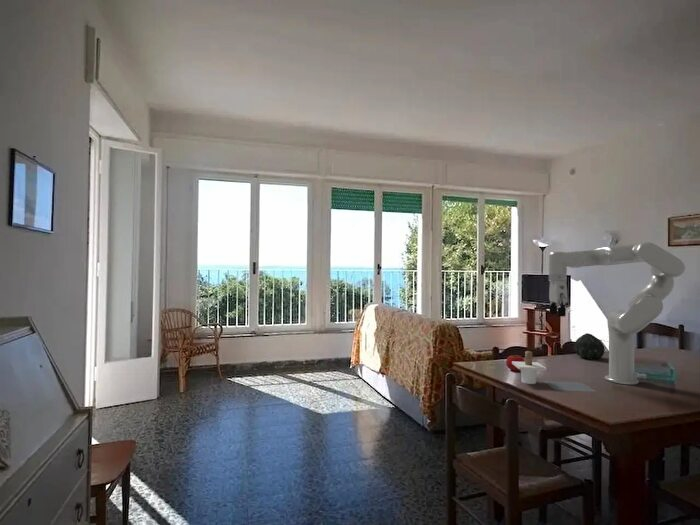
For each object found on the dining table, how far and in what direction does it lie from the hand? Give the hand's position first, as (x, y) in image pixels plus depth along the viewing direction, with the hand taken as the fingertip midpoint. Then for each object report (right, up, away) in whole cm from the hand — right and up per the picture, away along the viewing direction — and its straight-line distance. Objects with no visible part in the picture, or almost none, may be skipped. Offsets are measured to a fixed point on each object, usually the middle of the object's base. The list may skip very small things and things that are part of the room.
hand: (557, 315), depth 192 cm
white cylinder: (-19, -28, -13) cm, 36 cm away
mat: (-4, -28, -18) cm, 34 cm away
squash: (+39, -30, +42) cm, 65 cm away
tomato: (-15, -29, +10) cm, 34 cm away
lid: (-19, -21, -12) cm, 31 cm away
